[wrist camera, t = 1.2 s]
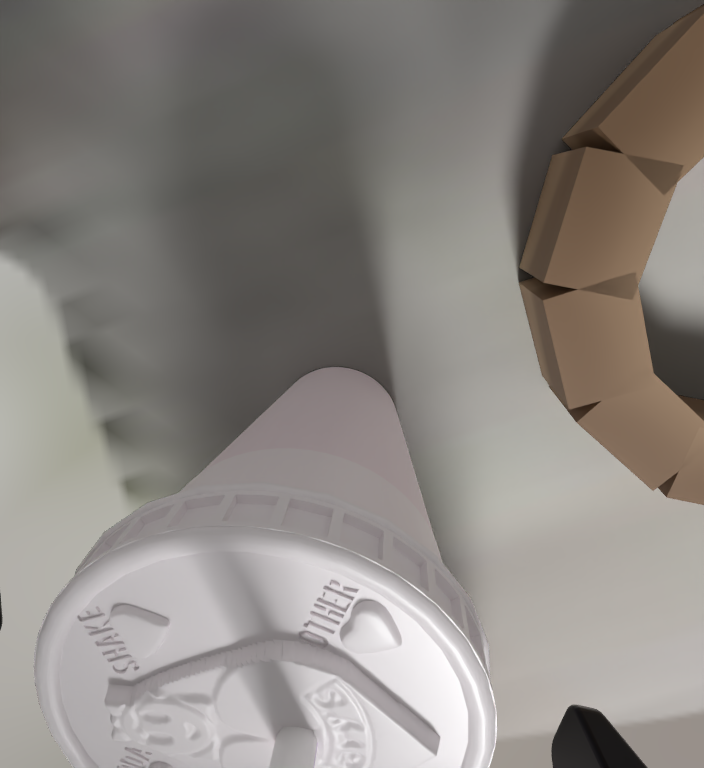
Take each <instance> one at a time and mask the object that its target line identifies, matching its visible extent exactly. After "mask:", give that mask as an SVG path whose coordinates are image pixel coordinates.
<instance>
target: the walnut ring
mask: <svg viewBox="0 0 704 768" xmlns="http://www.w3.org/2000/svg"><path fill="white" fill-rule="evenodd" d="M673 24H674V25H672V26H670V27H669V28H667V29H666V30H664V31H662V32H661V33H659V34H657V35H656V36H655V37H654V38H653V39H652V40H651V41H650V43H649V44H648V45H647V46H646V47H645V48H644V49H643V50H642V51H641V52H640V53H639V55H638V56H637V57H636V58H635V59H634V60H633V61H632V62H631V63H630V64H629V66H628V67H627V68H626V69H625V70H624V71H623V72H622V73H621V74H620V75H619V76H618V78H617V79H616V80H615V81H614V82H613V83H612V84H611V85H610V86H609V87H608V89H607V90H606V91H605V92H604V93H603V94H602V95H601V96H600V97H599V98H598V99H597V101H596V102H595V103H594V104H593V105H592V106H591V107H590V108H589V109H588V110H587V112H586V113H585V114H584V115H583V116H582V117H581V118H580V119H579V120H578V121H577V122H576V124H575V125H574V126H573V127H572V128H571V129H570V130H569V131H568V132H567V133H566V135H565V136H564V137H563V138H562V140H563V141H564V142H565V143H566V144H567V145H568V146H569V147H570V148H571V149H572V150H571V151H567V152H563V153H559V154H555V155H552V158H551V161H550V165H549V168H548V171H547V175H546V178H545V182H544V185H543V188H542V192H541V195H540V199H539V202H538V205H537V209H536V212H535V216H534V219H533V222H532V226H531V229H530V233H529V236H528V239H527V243H526V246H525V250H524V253H523V256H522V260H521V263H520V267H519V268H521V269H522V270H524V271H526V272H527V273H529V274H530V275H532V276H534V278H531V279H528V280H525V281H522V282H519V285H520V289H521V293H522V297H523V301H524V305H525V309H526V313H527V317H528V321H529V325H530V329H531V333H532V337H533V341H534V345H535V349H536V353H537V357H538V361H539V365H540V369H541V373H542V376H543V377H544V378H545V380H546V381H547V382H548V384H549V385H550V386H549V387H550V389H551V390H552V391H553V392H554V394H555V395H556V396H557V398H558V399H559V400H560V402H561V403H562V404H563V405H564V407H565V408H566V409H567V411H568V412H569V413H570V415H571V416H572V417H573V418H574V420H575V421H576V422H577V423H578V424H579V425H580V426H581V427H582V428H583V429H584V430H586V431H587V432H588V433H589V434H590V435H591V436H592V437H593V438H595V439H596V440H597V441H598V442H599V443H600V444H601V445H602V446H603V447H605V448H606V449H607V450H608V451H609V452H610V453H611V454H612V455H614V456H615V457H616V458H617V459H618V460H619V461H620V462H621V463H622V464H624V465H625V466H626V467H627V468H628V469H629V470H630V471H631V472H633V473H634V474H635V475H636V476H637V477H638V478H639V479H640V480H641V481H643V482H644V483H645V484H646V485H647V486H648V487H649V488H650V489H652V490H655V489H656V488H657V487H658V488H659V489H660V490H661V492H662V493H663V494H664V495H665V496H666V497H667V498H672V499H677V500H682V501H687V502H692V503H697V504H702V505H704V400H700V399H695V398H690V397H685V396H680V395H676V394H675V393H674V392H673V391H672V390H671V389H670V388H669V387H668V386H667V385H666V384H664V383H663V382H662V381H661V380H660V379H659V378H658V377H657V376H656V375H655V374H654V372H653V366H652V361H651V355H650V350H649V344H648V338H647V333H646V327H645V322H644V316H643V311H642V305H641V299H640V294H639V288H638V284H639V282H640V279H641V276H642V274H643V271H644V269H645V266H646V263H647V261H648V258H649V255H650V253H651V250H652V248H653V245H654V242H655V240H656V237H657V235H658V232H659V229H660V227H661V224H662V221H663V219H664V216H665V214H666V211H667V208H668V206H669V203H670V200H671V198H672V195H673V193H674V190H675V187H676V185H677V182H678V181H679V180H680V179H681V178H682V177H683V176H685V175H686V174H687V173H688V172H689V171H690V170H691V169H692V168H693V167H694V166H695V165H696V164H697V163H698V162H699V161H700V160H701V159H702V158H703V157H704V4H703V5H702V6H700V7H698V8H697V9H695V10H694V11H692V12H690V13H689V14H687V15H686V16H684V17H682V18H681V19H679V20H678V21H676V22H674V23H673Z"/></svg>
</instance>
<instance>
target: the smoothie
mask: <svg viewBox="0 0 704 768" xmlns="http://www.w3.org/2000/svg"><path fill="white" fill-rule="evenodd" d="M34 677H35V686H36V690H37V696H38V701H39V705H40V708H41V710H42V713H43V715H44V718H45V720H46V723H47V725H48V728H49V730H50V733H51V735H52V737H53V738H54V740H55V741H56V743H57V744H58V746H59V747H60V749H61V750H62V752H63V754H64V755H65V757H66V758H67V760H68V761H69V763H70V764H71V765H72V766H73V767H74V768H489V766H490V764H491V761H492V757H493V753H494V749H495V745H496V735H497V713H496V706H495V701H494V695H493V690H492V685H491V682H490V659H489V643H488V641H487V638H486V636H485V633H484V630H483V628H482V625H481V623H480V620H479V617H478V615H477V612H476V610H475V607H474V605H473V602H472V599H471V598H470V596H469V595H468V594H467V593H466V591H465V590H464V589H463V587H462V586H461V585H460V584H459V582H458V581H457V580H456V579H455V577H454V576H453V575H452V574H451V572H450V571H449V570H448V569H447V567H446V566H445V565H444V564H443V562H442V558H441V555H440V551H439V548H438V545H437V542H436V540H435V537H434V534H433V531H432V527H431V524H430V521H429V517H428V514H427V511H426V507H425V504H424V501H423V497H422V494H421V491H420V487H419V484H418V481H417V477H416V474H415V471H414V467H413V464H412V461H411V457H410V454H409V451H408V447H407V444H406V441H405V437H404V434H403V431H402V428H401V424H400V421H399V418H398V414H397V411H396V408H395V405H394V403H393V401H392V399H391V397H390V395H389V394H388V393H387V391H386V390H385V389H384V388H383V387H382V386H381V385H380V384H379V383H378V382H377V381H376V380H374V379H373V378H371V377H370V376H368V375H366V374H364V373H362V372H360V371H357V370H354V369H350V368H344V367H328V368H322V369H318V370H315V371H313V372H310V373H308V374H306V375H305V376H303V377H302V378H300V379H299V380H298V381H296V382H295V383H294V384H293V385H292V386H291V387H290V388H289V389H288V390H287V391H286V392H285V393H284V394H283V395H282V396H280V397H279V398H278V399H277V400H276V401H275V402H274V403H273V404H272V405H271V406H270V407H269V408H268V409H267V410H266V411H265V412H264V413H263V414H262V415H260V416H259V417H258V418H257V419H256V420H255V421H254V422H253V423H252V424H251V425H250V426H249V427H248V428H247V429H246V430H245V431H244V432H243V433H241V434H240V435H239V436H238V437H237V438H236V439H235V440H234V441H233V442H232V443H231V444H230V445H229V446H228V447H227V448H226V449H225V450H224V451H222V452H221V453H220V454H219V455H218V456H217V457H216V458H215V459H214V460H213V461H212V462H211V463H210V464H209V465H208V466H207V467H206V468H205V469H204V470H202V471H201V472H200V473H199V474H198V475H197V476H196V477H195V478H194V479H192V480H191V481H190V482H189V483H188V484H187V485H186V486H185V487H184V488H183V489H182V490H181V491H180V492H179V493H176V494H173V495H170V496H167V497H164V498H160V499H157V500H154V501H151V502H148V503H146V504H145V505H143V506H142V507H140V508H139V509H137V510H136V511H134V512H133V513H131V514H130V515H128V516H127V517H125V518H124V519H122V520H121V521H119V522H118V523H116V524H115V525H114V526H112V527H111V528H109V529H108V530H106V531H105V532H104V533H103V534H102V536H101V537H100V538H99V540H98V541H97V542H96V544H95V545H94V546H93V548H92V549H91V550H90V552H89V553H88V554H87V556H86V557H85V558H84V560H83V561H82V562H81V564H80V565H79V566H78V568H77V569H76V572H75V575H74V577H73V578H72V579H71V580H70V581H69V582H68V583H67V584H66V585H65V587H64V588H63V589H62V590H61V592H60V593H59V594H58V596H57V597H56V598H55V600H54V601H53V603H52V604H51V606H50V608H49V610H48V612H47V613H46V615H45V617H44V619H43V622H42V625H41V628H40V630H39V633H38V637H37V642H36V647H35V654H34Z"/></svg>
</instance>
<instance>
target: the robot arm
mask: <svg viewBox="0 0 704 768" xmlns="http://www.w3.org/2000/svg"><path fill="white" fill-rule="evenodd" d="M1 626H2V608H1V595H0V630H1ZM552 762H553V768H647V766H646V765H645V764H644V763H643V762H642V760H641V759H640V758H639V757H638V756H637V754H636V753H635V752H634V751H633V750H632V748H631V747H630V746H629V745H628V744H627V743H626V741H625V740H624V739H623V738H622V737H621V735H620V734H619V733H618V732H617V730H616V729H615V728H614V727H613V726H612V724H611V723H610V722H609V721H608V720H607V718H606V717H605V716H604V715H603V714H602V713H601V712H600V711H598V710H597V709H594V708H590V707H585V706H580V705H571V706H569V707H568V709H567V710H566V712H565V715H564V717H563V719H562V721H561V723H560V725H559V728H558V730H557V732H556V734H555V736H554V739H553V743H552Z"/></svg>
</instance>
